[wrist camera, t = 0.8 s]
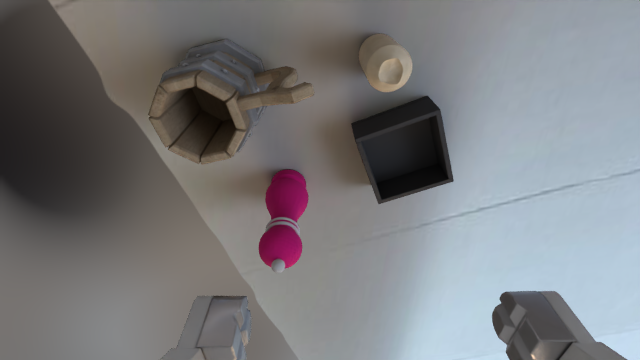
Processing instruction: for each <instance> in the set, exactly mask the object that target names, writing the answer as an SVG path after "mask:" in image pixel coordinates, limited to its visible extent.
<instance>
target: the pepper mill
mask: <svg viewBox="0 0 640 360" xmlns="http://www.w3.org/2000/svg"><path fill="white" fill-rule="evenodd" d="M265 200H266V205H267V209H268V211H269V213H270V215H271V221H270V222H269V223H268V224H267V226H266V230H265V233H264V234H263V236H262V237H261V239H260V243H259V254H260V257H261V259H262V260H263V262H264V263H265V264H267V265H268V266H270V267H271V268H272V270H273V271H274V272H276V273H280V272H282V271H283V270H284V269H285V268H289V267H291V266H292V265H294V264H295V263H296V262H297V261H298V259H299V258H300V256H301V252H302V242H301V239H300V237H299V233H300V229H299V226H298V224H297V220H298V219H299V217H300V216H301V215H302V214H303V212H304V211H305V209H306V207H307V203H308V193H307V190H306V181H305V179H304V177H303V176H302V175H301V174H300V173H299V172H297V171H295V170H282V171H279V172H278V173H276V174H275V175H274V177H273V178H272V182H271V185H270V186H269V187H268V189H267V192H266V199H265Z"/></svg>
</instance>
